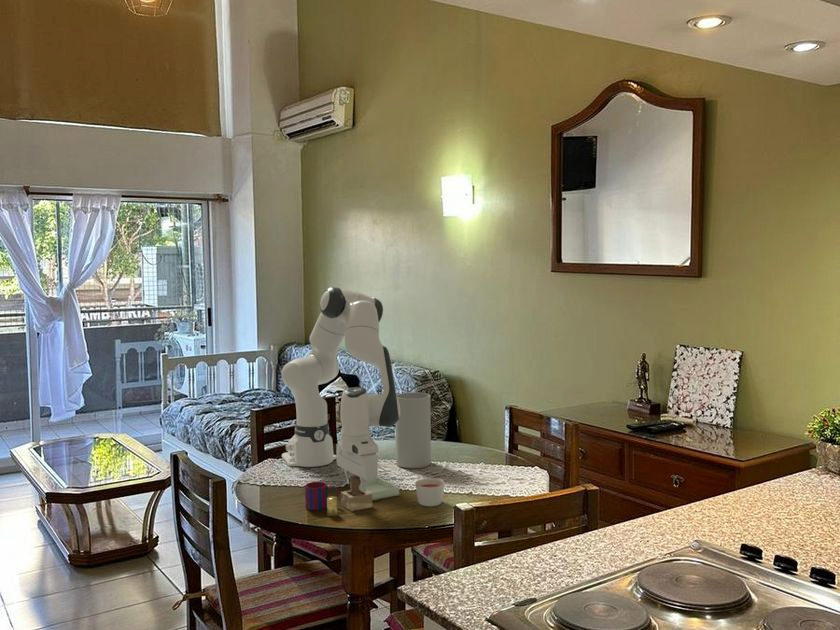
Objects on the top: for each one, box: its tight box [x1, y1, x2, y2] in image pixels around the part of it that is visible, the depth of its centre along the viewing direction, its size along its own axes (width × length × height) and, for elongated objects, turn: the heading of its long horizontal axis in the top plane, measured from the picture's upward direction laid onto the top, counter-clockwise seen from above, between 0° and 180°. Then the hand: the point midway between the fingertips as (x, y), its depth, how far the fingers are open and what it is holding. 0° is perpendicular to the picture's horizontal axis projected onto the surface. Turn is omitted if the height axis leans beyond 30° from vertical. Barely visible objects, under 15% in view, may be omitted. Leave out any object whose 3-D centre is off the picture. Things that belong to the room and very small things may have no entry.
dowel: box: [351, 474, 362, 496], centre depth 232 cm, size 3×3×9 cm
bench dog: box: [326, 496, 338, 517], centre depth 225 cm, size 3×3×5 cm
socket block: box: [340, 489, 373, 512], centre depth 232 cm, size 7×7×4 cm
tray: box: [349, 476, 400, 501], centre depth 245 cm, size 13×10×2 cm
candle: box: [414, 477, 446, 507], centre depth 234 cm, size 9×9×6 cm
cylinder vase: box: [395, 391, 432, 470], centre depth 276 cm, size 12×12×25 cm
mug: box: [304, 481, 339, 511], centre depth 231 cm, size 7×10×7 cm
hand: (356, 487), depth 232 cm, fingers open, 7 cm apart
